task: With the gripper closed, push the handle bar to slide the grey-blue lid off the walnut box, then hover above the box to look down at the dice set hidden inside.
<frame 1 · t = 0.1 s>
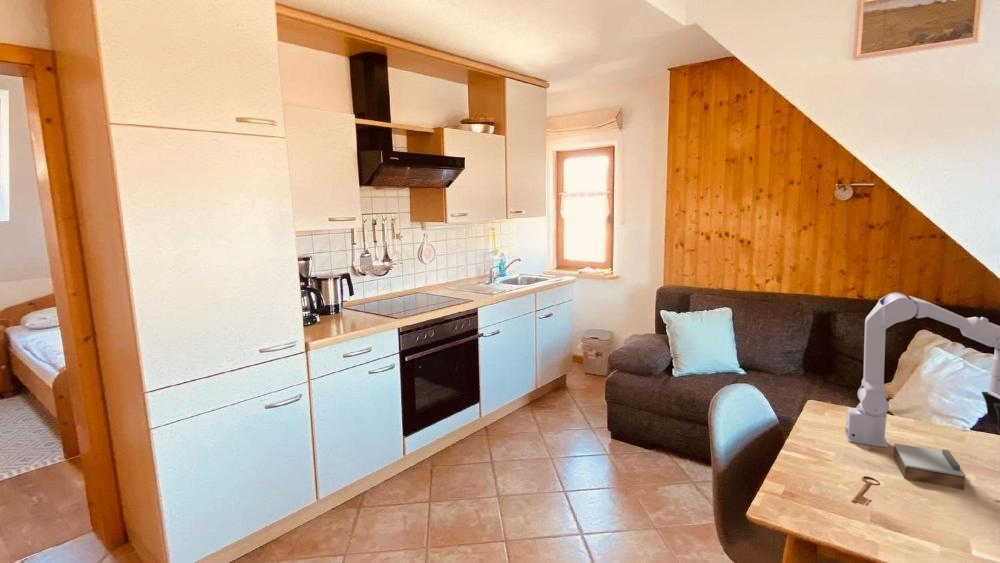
hand: (999, 425, 135), 10 cm above the table, tool pointing down, fingers open, 7 cm apart
box: (926, 471, 132), on the table
key: (867, 494, 124), on the table
lid: (927, 456, 131), point 4 cm above the table, slide at 0.0 cm
dice set: (926, 471, 132), resting in box
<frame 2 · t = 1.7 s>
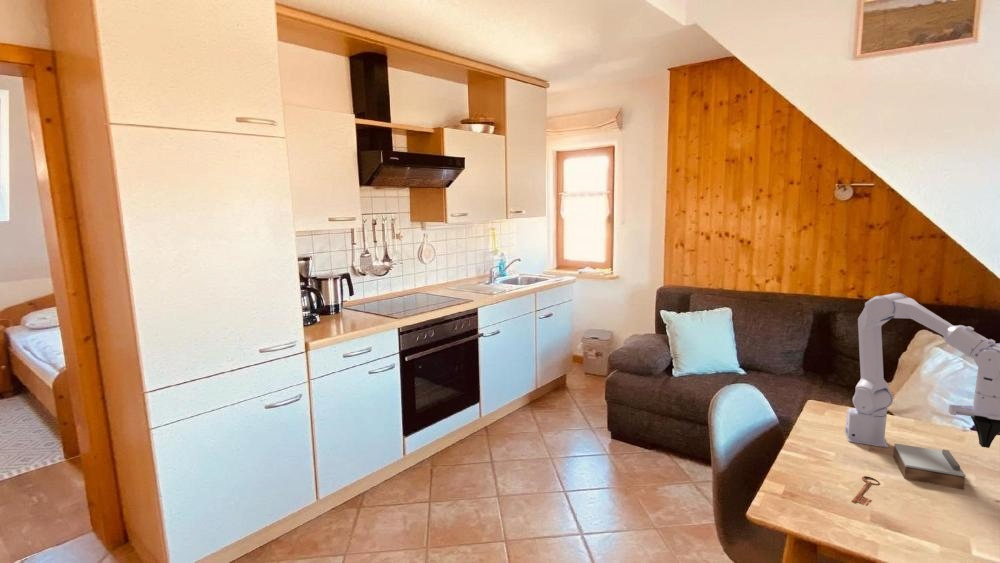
hand: (984, 445, 126), 9 cm above the table, tool pointing down, fingers closed
nothing on the table moved.
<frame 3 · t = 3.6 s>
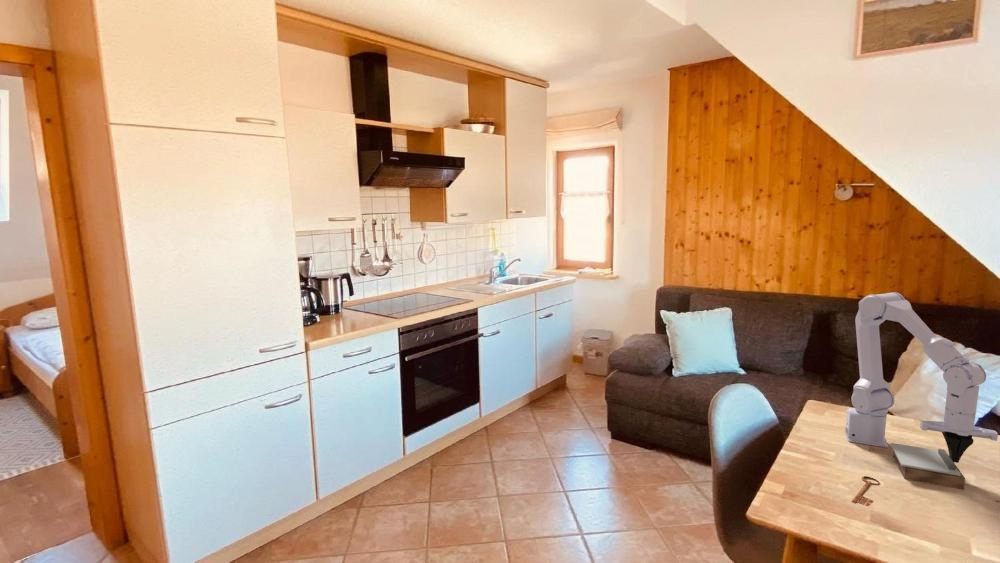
hand: (953, 460, 129), 4 cm above the table, tool pointing down, fingers closed
lid: (923, 456, 132), point 4 cm above the table, slide at 0.8 cm, touching gripper
everything else where it was.
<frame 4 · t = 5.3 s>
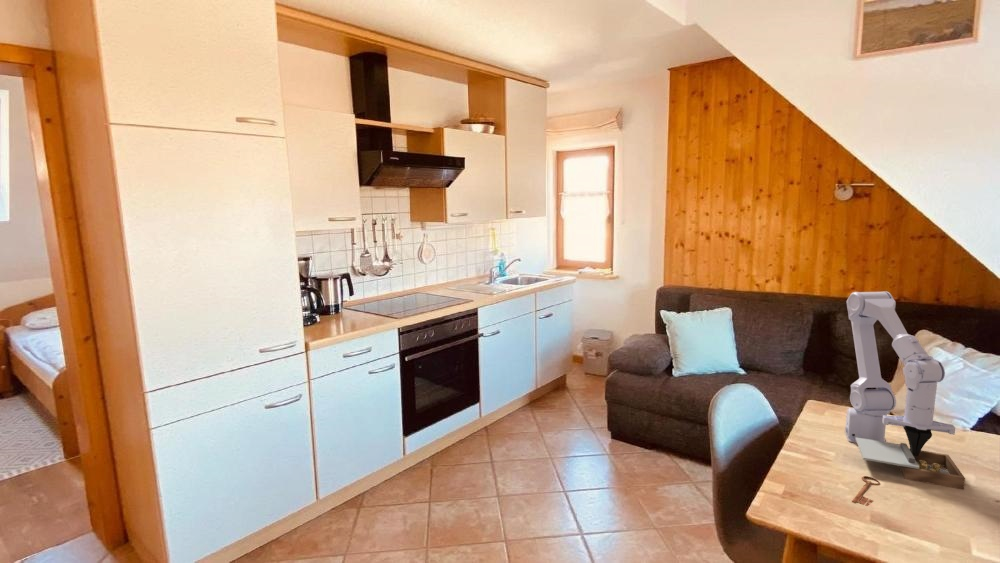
hand: (914, 454, 133), 4 cm above the table, tool pointing down, fingers closed
lid: (885, 450, 135), point 4 cm above the table, slide at 8.9 cm, touching gripper
everything else where it was.
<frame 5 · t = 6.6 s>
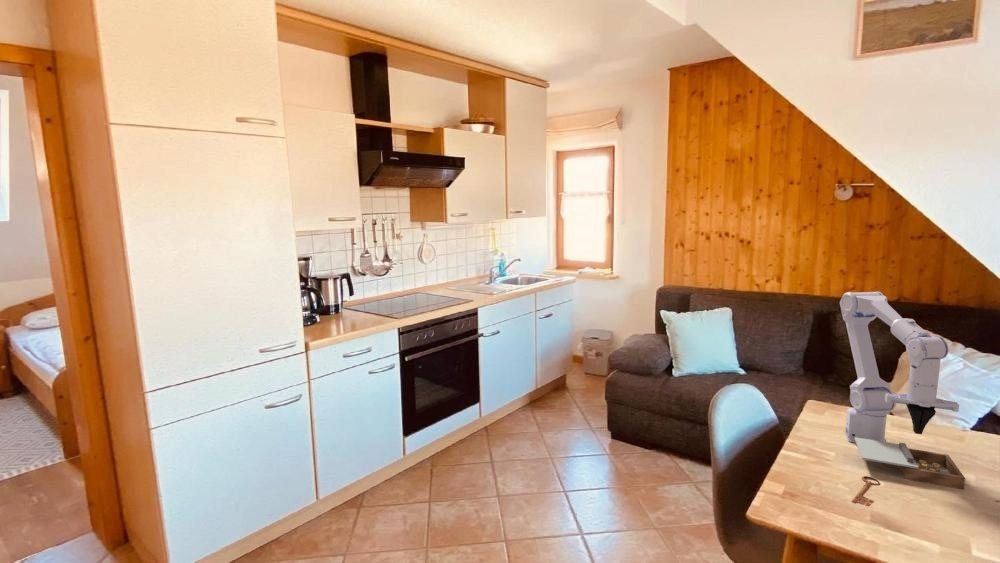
hand: (917, 432, 132), 10 cm above the table, tool pointing down, fingers closed
lid: (884, 449, 135), point 4 cm above the table, slide at 9.1 cm
everything else where it was.
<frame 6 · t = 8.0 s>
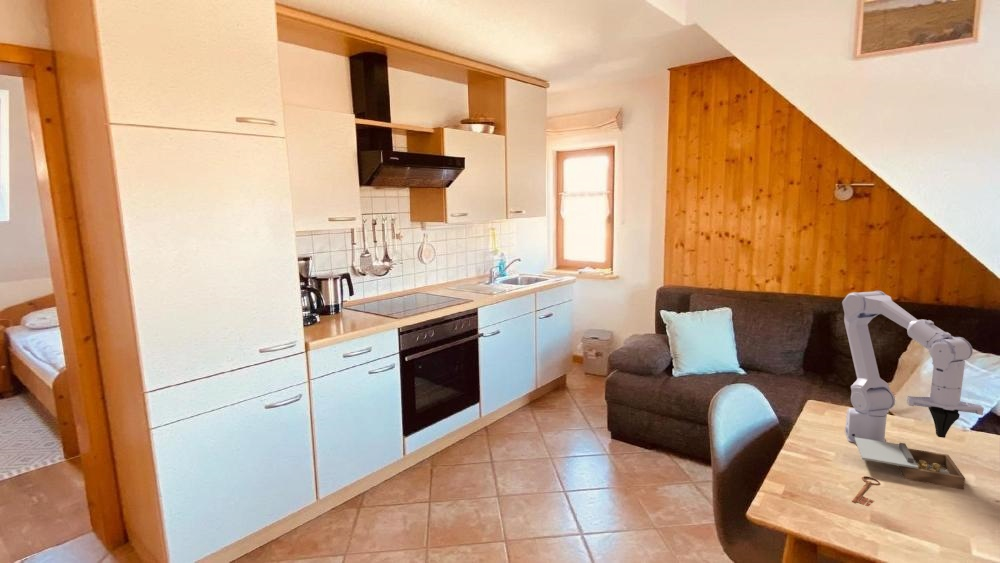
hand: (940, 435, 129), 10 cm above the table, tool pointing down, fingers closed
nothing on the table moved.
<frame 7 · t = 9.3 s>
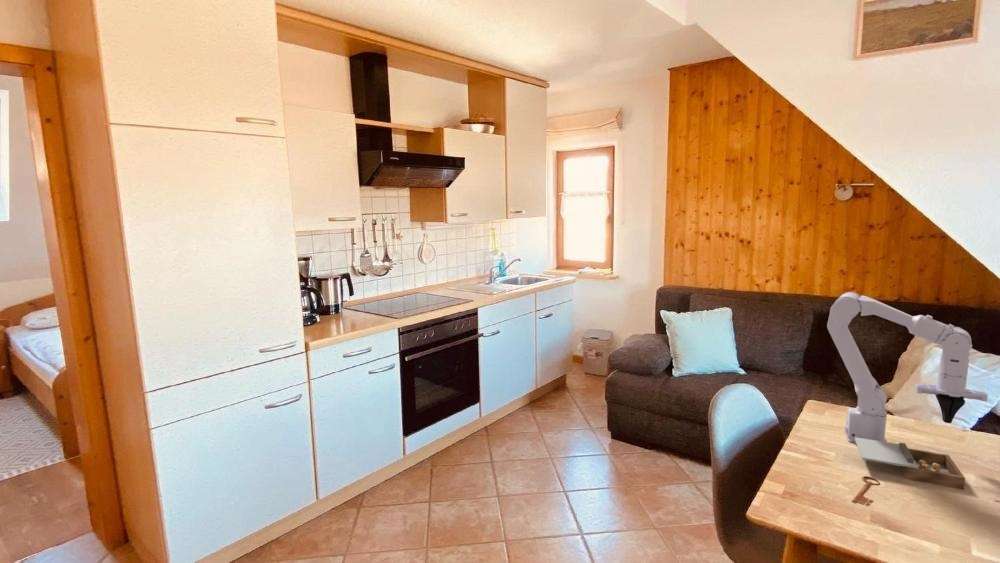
hand: (946, 421, 137), 10 cm above the table, tool pointing down, fingers closed
nothing on the table moved.
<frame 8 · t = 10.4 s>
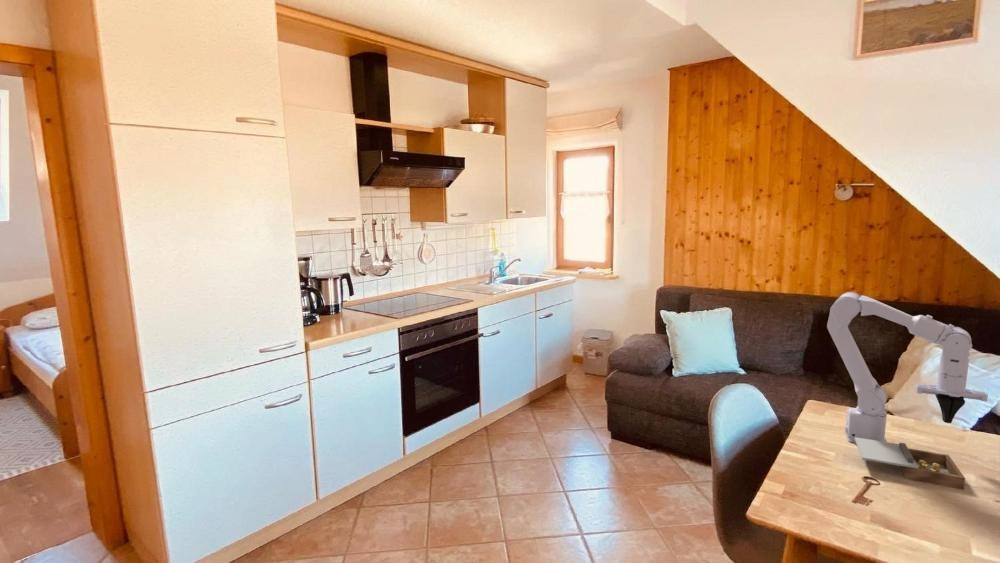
hand: (946, 421, 137), 10 cm above the table, tool pointing down, fingers closed
nothing on the table moved.
at the end: lid slide at 9.1 cm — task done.
